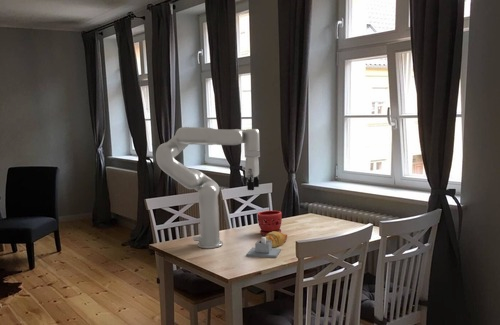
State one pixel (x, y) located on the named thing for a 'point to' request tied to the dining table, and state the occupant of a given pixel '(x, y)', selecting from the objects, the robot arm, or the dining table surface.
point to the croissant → (276, 238)
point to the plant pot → (269, 221)
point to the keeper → (272, 254)
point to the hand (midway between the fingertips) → (253, 188)
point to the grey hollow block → (263, 247)
